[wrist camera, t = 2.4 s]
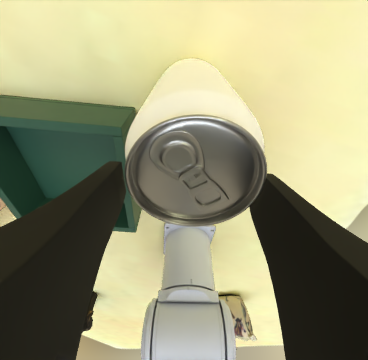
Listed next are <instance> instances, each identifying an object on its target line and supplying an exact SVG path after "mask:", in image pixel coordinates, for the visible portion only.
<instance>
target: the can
mask: <svg viewBox="0 0 368 360" xmlns="http://www.w3.org/2000/svg"><path fill="white" fill-rule="evenodd" d="M125 159H126V163H125V171H124V174H125V182H126V185H127V188H128V191H129V193H130V195H131V196H132V198H133V199H134V201H135V202H136V203H137V204H138V205H139V206H140V207H141V208H142V209H143V210H144V211H146V212H147V213H148V214H150V215H151V216H153V217H155V218H157V219H159V220H162V221H164V222H167V223H170V224H174V225H179V226H188V227H199V226H208V225H214V224H218V223H221V222H224V221H227V220H229V219H231V218H233V217H235V216H237V215H239V214H240V213H242V212H243V211H245V210H246V209H247V208H248V207H249V206H250V205H251V204H252V203H253V202H254V201H255V200H256V199H257V197H258V196H259V194H260V193H261V191H262V189H263V187H264V184H265V181H266V176H267V163H266V158H265V155H264V138H263V134H262V131H261V128H260V126H259V124H258V122H257V120H256V118H255V116H254V115H253V113H252V112H251V111H250V109H249V108H248V106H247V105H246V104H245V103H244V101H243V100H242V99H241V98H240V96H239V95H238V94H237V93H236V91H235V90H234V89H233V88H232V86H231V85H230V84H229V83H228V82H227V80H226V79H225V78H224V77H223V76H222V74H221V73H220V72H219V71H218V70H217V69H216V68H215V67H214V66H213V65H211V64H210V63H208V62H206V61H203V60H200V59H194V58H189V59H182V60H179V61H177V62H175V63H173V64H172V65H171V66H170V67H168V68H167V70H166V71H165V72H164V73H163V74H162V76H161V77H160V78H159V80H158V81H157V83H156V85H155V86H154V88H153V89H152V91H151V92H150V94H149V96H148V97H147V99H146V100H145V102H144V104H143V105H142V107H141V108H140V110H139V112H138V113H137V115H136V117H135V119H134V120H133V122H132V124H131V126H130V129H129V132H128V135H127V138H126V143H125Z"/></svg>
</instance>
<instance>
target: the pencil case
mask: <svg viewBox="0 0 368 360" xmlns="http://www.w3.org/2000/svg"><path fill="white" fill-rule="evenodd" d="M220 299H223V300H224V301H225V303H226V304H227V305H228V306H229V309H230V312H231V315H232V320H233V326H234V333H235V337H236V338H240V339H242V340H245V341H248V340H250V339H251V340H252V341H256V340H257V338H256V337H255V336H254V335H253V330H252V325H251V321H250V317H249V314H248V311H247V309H246V306H245V304H244V302H243V300H242V298H241V297H239V296H220V297H219V300H220Z"/></svg>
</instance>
